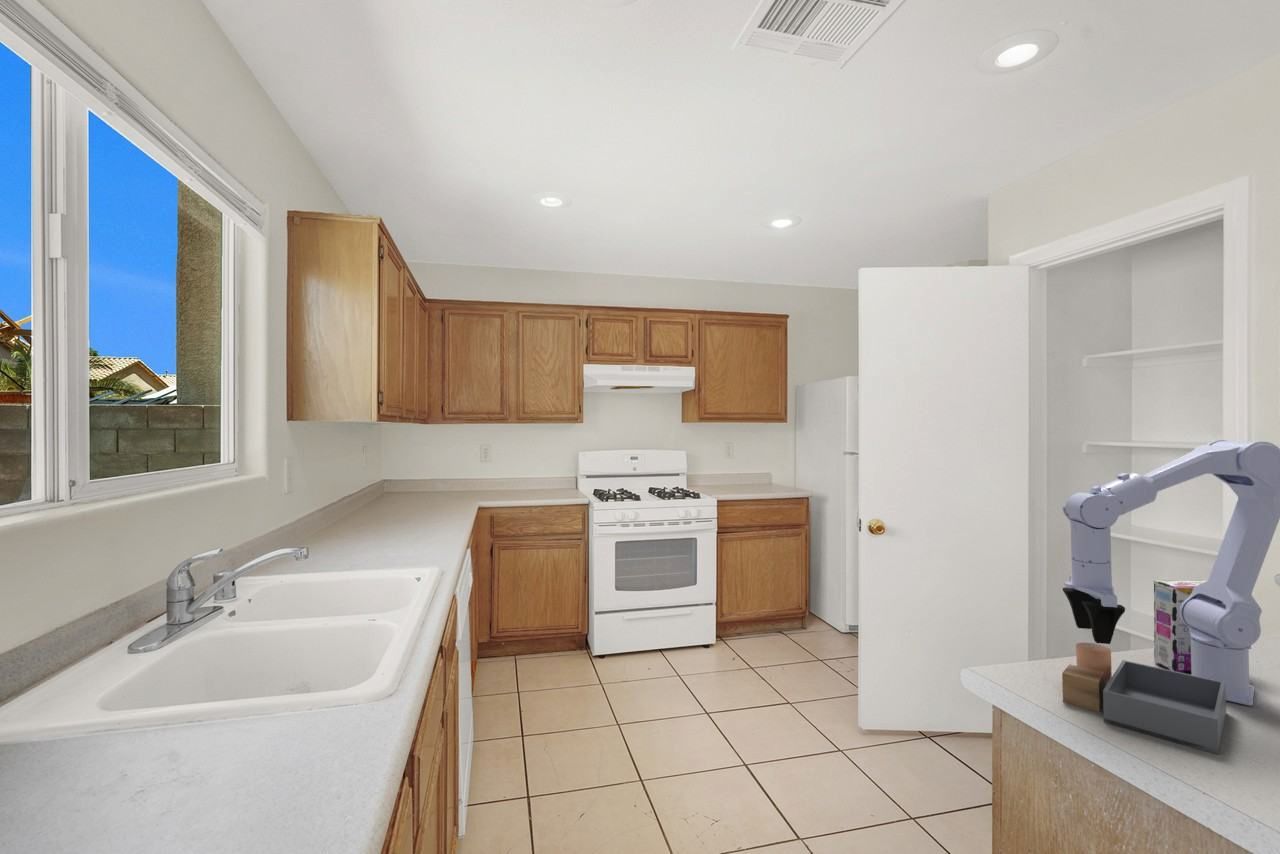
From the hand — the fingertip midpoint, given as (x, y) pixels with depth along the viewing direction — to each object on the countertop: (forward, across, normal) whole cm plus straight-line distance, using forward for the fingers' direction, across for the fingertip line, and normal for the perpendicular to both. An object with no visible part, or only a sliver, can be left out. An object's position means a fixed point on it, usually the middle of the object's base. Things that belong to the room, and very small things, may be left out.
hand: (1092, 635), depth 105 cm
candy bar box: (+10, -13, +21) cm, 27 cm away
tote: (+9, +10, +6) cm, 15 cm away
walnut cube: (+9, +7, -4) cm, 12 cm away
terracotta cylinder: (+9, 0, 0) cm, 9 cm away
